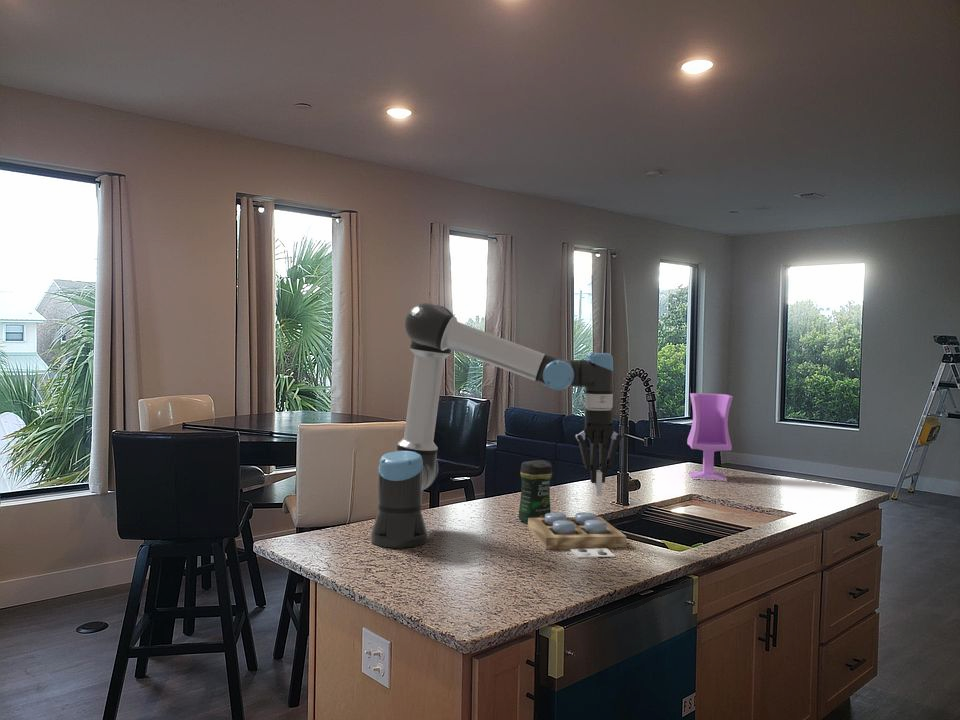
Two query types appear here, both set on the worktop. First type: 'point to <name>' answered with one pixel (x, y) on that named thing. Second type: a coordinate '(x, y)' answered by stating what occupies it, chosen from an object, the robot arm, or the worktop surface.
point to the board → (575, 536)
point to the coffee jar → (535, 489)
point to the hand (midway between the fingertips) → (597, 494)
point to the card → (592, 553)
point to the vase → (709, 430)
